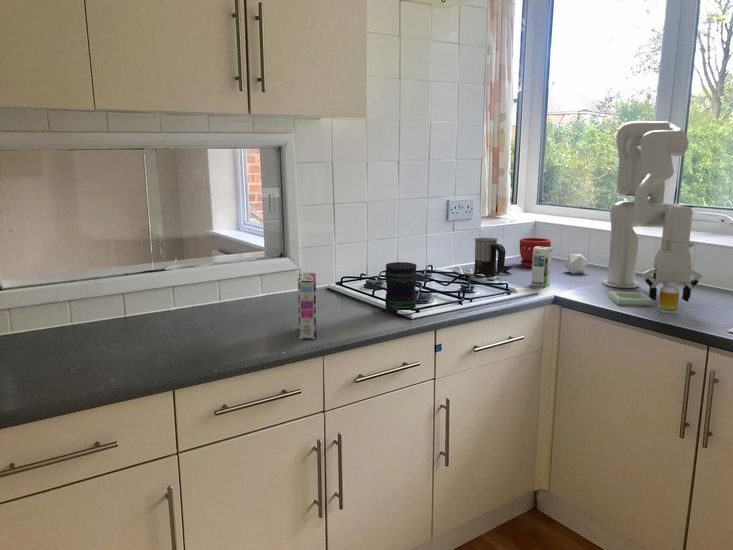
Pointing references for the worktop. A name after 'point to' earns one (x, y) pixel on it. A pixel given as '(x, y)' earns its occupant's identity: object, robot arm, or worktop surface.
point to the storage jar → (400, 286)
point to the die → (576, 263)
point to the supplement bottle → (668, 298)
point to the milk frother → (489, 257)
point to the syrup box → (541, 266)
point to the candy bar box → (307, 306)
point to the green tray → (630, 298)
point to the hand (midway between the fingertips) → (668, 299)
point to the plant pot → (531, 248)
